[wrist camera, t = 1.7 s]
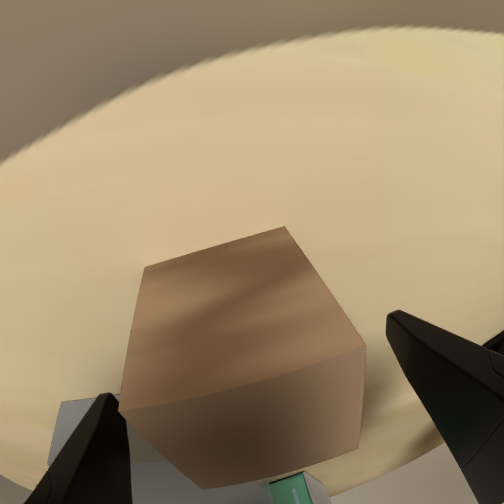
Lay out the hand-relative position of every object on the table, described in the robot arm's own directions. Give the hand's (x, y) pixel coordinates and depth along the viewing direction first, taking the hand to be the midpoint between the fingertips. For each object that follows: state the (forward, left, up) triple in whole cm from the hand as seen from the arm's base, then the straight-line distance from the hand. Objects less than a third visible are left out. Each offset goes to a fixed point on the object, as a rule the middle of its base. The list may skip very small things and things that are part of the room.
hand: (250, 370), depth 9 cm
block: (0, 0, -3) cm, 3 cm away
